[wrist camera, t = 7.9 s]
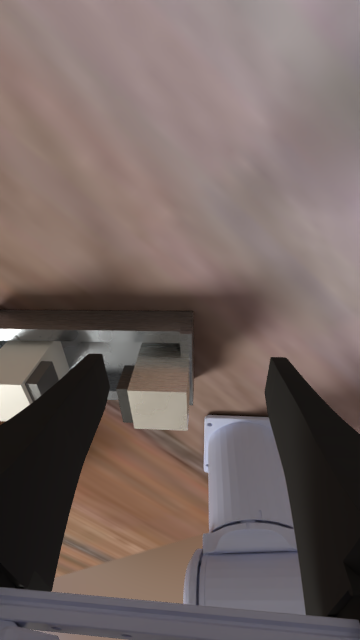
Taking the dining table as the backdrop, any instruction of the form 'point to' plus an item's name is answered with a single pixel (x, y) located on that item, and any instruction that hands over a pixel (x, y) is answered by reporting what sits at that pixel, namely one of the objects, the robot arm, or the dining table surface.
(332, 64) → the dining table surface
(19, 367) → the cream rectangular block
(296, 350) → the dining table surface
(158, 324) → the rail
